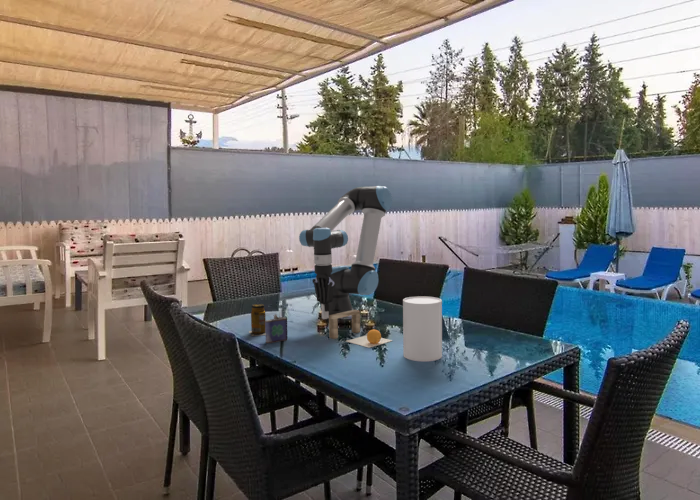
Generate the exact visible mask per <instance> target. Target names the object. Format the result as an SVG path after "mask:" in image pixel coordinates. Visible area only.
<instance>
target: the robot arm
mask: <svg viewBox="0 0 700 500" xmlns="http://www.w3.org/2000/svg"><path fill="white" fill-rule="evenodd" d="M392 206H393V197H392V194H391V191H390V189H389V188H388V187H387V186H385V185H384V186H383V185H382V186H381V185H376V186H358V187H355V188H352V189H350V190H348V191H347V192H346V193H345V194H343V195H342V196H341V197H340V198H339V199H338V200H337V203H336V204H335V205H334V206H333V207H332V208H331V209H330V210H329V211H328V212H327V213H326V214H325V215H324V216H323V217H322V218H320V220H318V221H317V222H316V223H315V224H314V225H313V226H312V227H311V228H310V229H304V230H302V231H300V233H299V236H298V239H299V243H300V244H301V246H303V247H308V248H313V261H314V274H316V276H315V278H313V279H312V283H313V286H314V291H315V296H316V301H317V302H319V303H320V311H321V319H322V320H326V319H329V315H333V314H337V313H342V312H346V311H351V310H354V308H353V305H352V303H351V302H352V301H351V299H350V295H360V296H369V295H372V294H374V292H375V291H376V290H377V288H378V286H379V274H378V272H376V267H375V265H374V263H375V262H374V261H375V257H376V250H377V245H378V241H379V240H378V239H379V234H380V229H381V228H380V227H381V223H382V218H383V217H385V216H386V211H389V210H390V209H392ZM357 211H361V212H362V214H363V219H362V224H361V225H362V226H361V229H360V230H361V231H360V235H359V242H358V245H357V252H356V257H355V261H354V262H353V263H352V264H351V266H350V267H349V266H348V265H338V266H333V265H332V263H333V259H332V258H333V257H332V256H333V255H332V254H333V253H332V249H335V248H336V249H337V248H342V247H345V246H346V245H347V244H348V243H349V242H348V241H349V235H348V233H347V232H346V231H345V230H342V229H336V227H338V225H340V223H342V221H344V220H345V218H346V217H347V216H348V215H352V214H353V213H354V212H357ZM334 229H336V230H334Z"/></svg>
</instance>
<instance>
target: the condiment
mask: <svg viewBox="0 0 700 500" xmlns="http://www.w3.org/2000/svg"><path fill="white" fill-rule="evenodd" d="M266 320H267V319H266V311H265V304H263V303H257V304H252V305H251V312H250V323H251V324H250V325H251V330H248V333H249V334H250V336H251V337H256V336H257V337H258V336H259V337H260V336H266V332H265V321H266Z"/></svg>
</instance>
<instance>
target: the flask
mask: <svg viewBox="0 0 700 500" xmlns="http://www.w3.org/2000/svg"><path fill="white" fill-rule="evenodd" d="M265 332H266V335H265V343H266V344H272V343H278V342H284V341H288V318H287V317H286V316H285V317H283V316H278V314H276V313H275V314H274V315H273V318H272V319H266V321H265Z"/></svg>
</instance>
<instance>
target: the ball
mask: <svg viewBox="0 0 700 500" xmlns="http://www.w3.org/2000/svg"><path fill="white" fill-rule="evenodd" d="M381 338H382V334H381V332H380V331H379V330H377V329H370V330H369V331H368V332H367V339H368V341H369V342H370V343H372V344H376V343H378V342H379V341H380V340H381Z"/></svg>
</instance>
